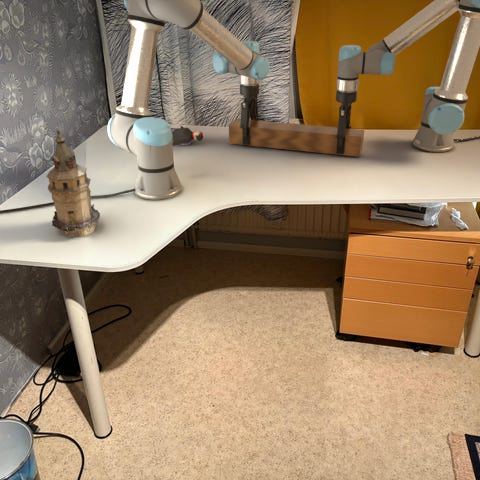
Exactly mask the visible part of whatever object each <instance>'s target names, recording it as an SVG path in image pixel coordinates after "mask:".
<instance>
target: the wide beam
mask: <svg viewBox="0 0 480 480" xmlns="http://www.w3.org/2000/svg"><path fill="white" fill-rule="evenodd" d="M240 124H241V118H235V119H233V121H232V122H230V123H229V124H228V144H229V145H240V146H250V147H258V148H259V147H260V148H268V149H269V148H270V149H279V150H291V151H300V152H307V153H319V154H329V155H337V156H338V155H339V156H347V157H357V158H359V157H360V156H361V154H362V151H363V147H364V137H365V129H360V128H359V129H358V128H351V129H348V128H346V129H345V145H344V154H336V151H337V138H338V137H336V135H337V130H338V126H337V127H335V126H323V125H312V124H302V123H301V124H300V123H289V122H277V121H266V120H259V121H256V120H251V119H250V120H249V129H250V144H249V145H247V144H243V139H242V128H240Z"/></svg>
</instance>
